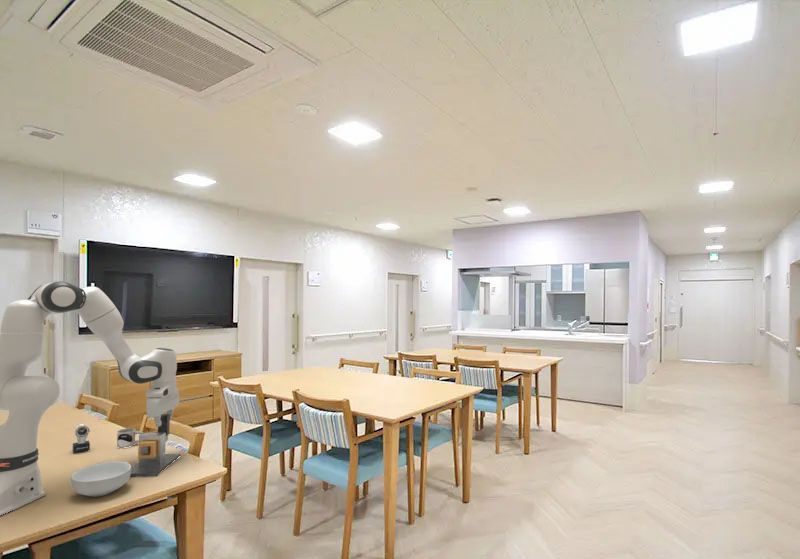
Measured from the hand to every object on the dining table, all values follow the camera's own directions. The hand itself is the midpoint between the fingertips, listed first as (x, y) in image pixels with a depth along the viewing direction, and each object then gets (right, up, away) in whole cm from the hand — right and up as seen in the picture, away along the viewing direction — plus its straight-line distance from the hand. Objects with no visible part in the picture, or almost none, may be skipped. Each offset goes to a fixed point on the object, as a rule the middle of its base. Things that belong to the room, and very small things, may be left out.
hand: (163, 423), depth 182 cm
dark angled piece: (0, -7, -7) cm, 10 cm away
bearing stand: (0, -14, -9) cm, 17 cm away
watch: (-39, -15, +9) cm, 43 cm away
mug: (-23, -15, +16) cm, 31 cm away
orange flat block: (0, -9, -13) cm, 15 cm away
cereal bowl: (-5, -13, -31) cm, 34 cm away
